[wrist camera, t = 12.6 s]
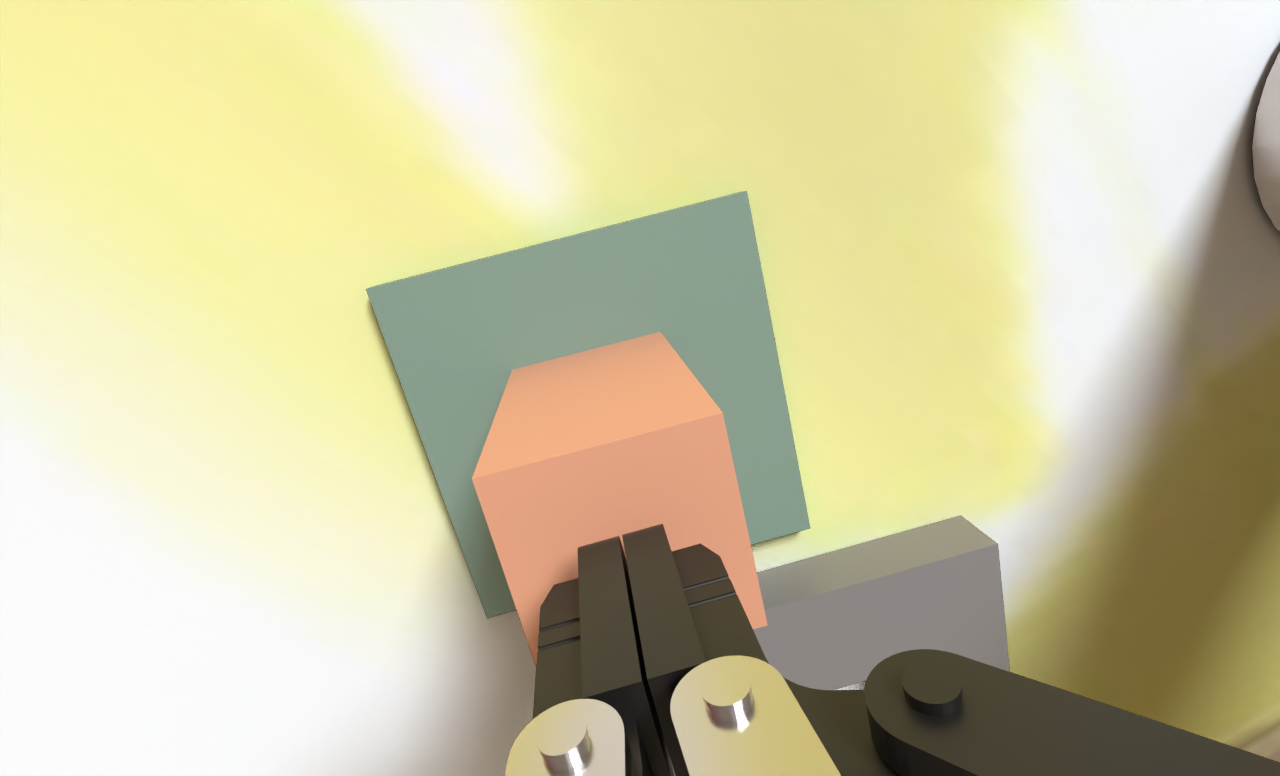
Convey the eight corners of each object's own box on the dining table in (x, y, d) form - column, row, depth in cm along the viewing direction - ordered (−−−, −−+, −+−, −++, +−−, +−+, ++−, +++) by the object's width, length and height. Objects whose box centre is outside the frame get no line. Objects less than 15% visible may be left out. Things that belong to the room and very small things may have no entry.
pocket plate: (961, 515, 22) (998, 544, 20) (993, 812, 26) (1027, 859, 24) (573, 624, 22) (574, 663, 20) (666, 909, 26) (674, 966, 24)
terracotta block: (660, 331, 19) (723, 413, 11) (692, 468, 20) (767, 625, 12) (512, 369, 19) (471, 479, 11) (553, 504, 20) (543, 687, 12)
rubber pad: (741, 191, 19) (747, 190, 18) (804, 519, 22) (810, 528, 21) (372, 286, 18) (365, 289, 18) (489, 607, 21) (486, 618, 21)
